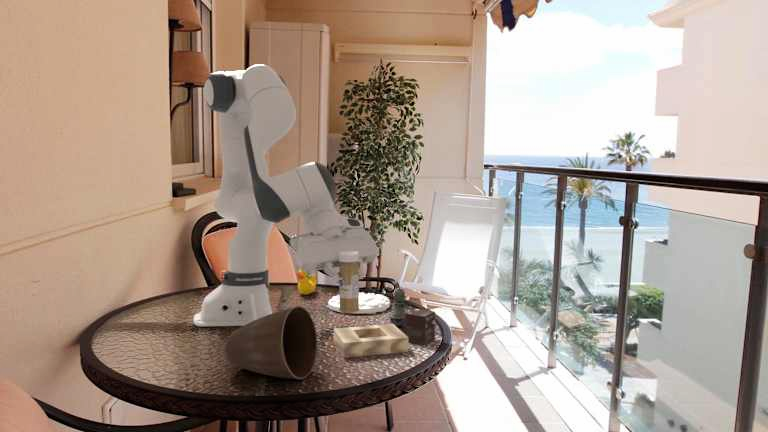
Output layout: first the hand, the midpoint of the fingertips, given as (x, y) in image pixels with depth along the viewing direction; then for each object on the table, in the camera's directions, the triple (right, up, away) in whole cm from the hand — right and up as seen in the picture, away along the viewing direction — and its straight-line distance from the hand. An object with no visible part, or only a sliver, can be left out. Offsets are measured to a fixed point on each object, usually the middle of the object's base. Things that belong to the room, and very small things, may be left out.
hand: (350, 279), depth 115 cm
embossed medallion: (-1, -16, +52) cm, 55 cm away
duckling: (-20, -14, +69) cm, 74 cm away
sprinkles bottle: (0, -7, +1) cm, 8 cm away
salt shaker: (+12, -17, +29) cm, 36 cm away
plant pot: (-25, -15, -3) cm, 29 cm away
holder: (+4, -18, +13) cm, 23 cm away
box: (+17, -18, +19) cm, 31 cm away
